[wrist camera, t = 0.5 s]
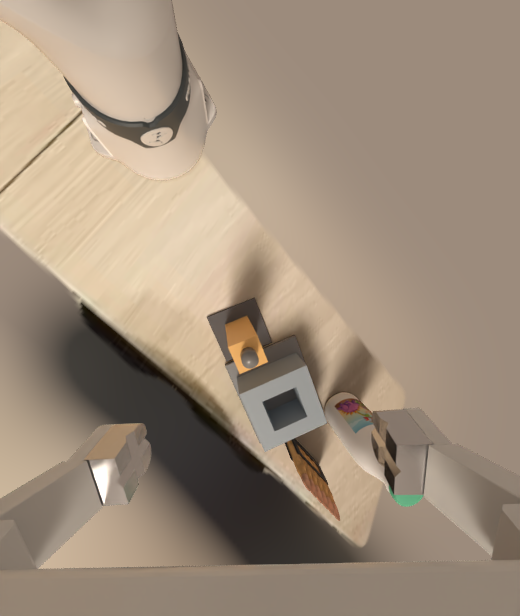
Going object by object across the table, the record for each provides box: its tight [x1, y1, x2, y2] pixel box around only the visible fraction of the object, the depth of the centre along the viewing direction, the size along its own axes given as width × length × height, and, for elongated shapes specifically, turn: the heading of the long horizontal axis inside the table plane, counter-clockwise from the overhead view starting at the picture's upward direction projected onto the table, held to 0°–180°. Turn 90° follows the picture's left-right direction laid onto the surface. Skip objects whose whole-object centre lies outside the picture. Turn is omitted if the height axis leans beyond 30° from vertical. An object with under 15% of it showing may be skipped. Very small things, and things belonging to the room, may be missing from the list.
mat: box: [207, 298, 272, 361], centre depth 46 cm, size 9×9×1 cm
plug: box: [225, 316, 268, 374], centre depth 39 cm, size 4×4×14 cm
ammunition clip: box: [285, 438, 340, 521], centre depth 48 cm, size 11×2×12 cm, turn 38°
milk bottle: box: [325, 392, 424, 506], centre depth 44 cm, size 8×8×20 cm
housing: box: [225, 335, 327, 452], centre depth 47 cm, size 18×14×7 cm
